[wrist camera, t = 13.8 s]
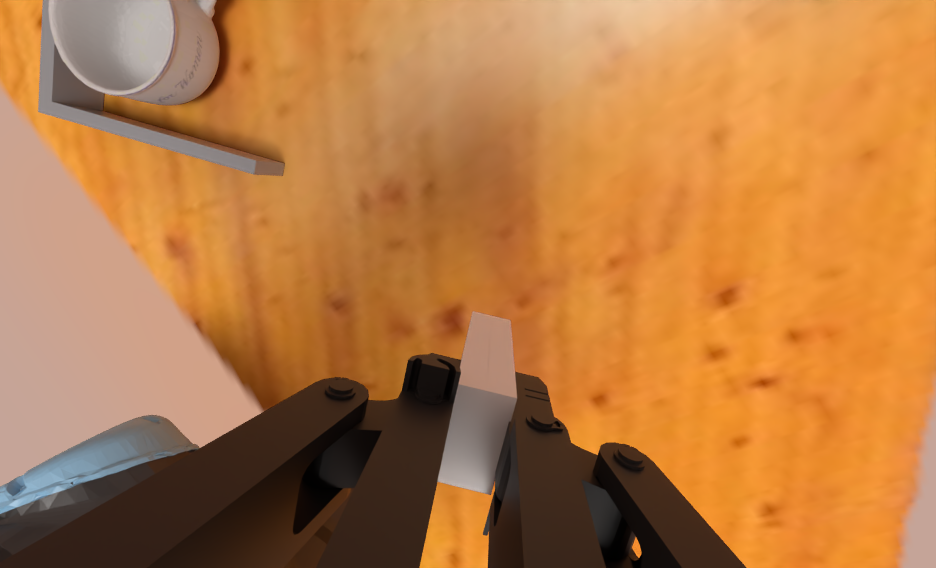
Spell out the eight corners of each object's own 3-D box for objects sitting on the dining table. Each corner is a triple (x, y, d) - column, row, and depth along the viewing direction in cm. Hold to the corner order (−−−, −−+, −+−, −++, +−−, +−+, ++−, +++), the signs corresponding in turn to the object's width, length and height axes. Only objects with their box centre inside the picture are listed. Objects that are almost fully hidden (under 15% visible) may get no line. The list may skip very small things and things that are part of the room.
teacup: (161, 128, 43) (85, 116, 35) (107, 15, 41) (14, -25, 34) (284, 72, 41) (232, 45, 33) (233, -50, 39) (165, -109, 31)
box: (282, 175, 43) (254, 174, 38) (90, 120, 44) (38, 112, 39) (318, -32, 39) (291, -63, 34) (104, -91, 39) (48, -130, 34)
